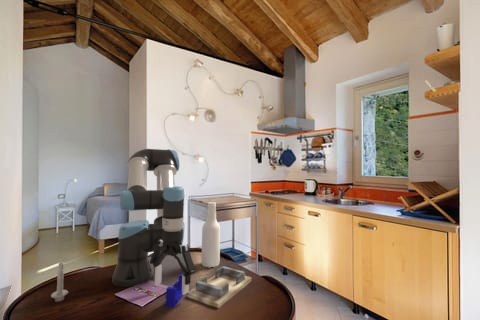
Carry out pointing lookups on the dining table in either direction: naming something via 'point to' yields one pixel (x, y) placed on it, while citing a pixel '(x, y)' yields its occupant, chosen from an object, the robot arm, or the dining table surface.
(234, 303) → the dining table surface
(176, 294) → the cable clip
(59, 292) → the screw
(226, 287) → the board
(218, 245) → the alcohol
